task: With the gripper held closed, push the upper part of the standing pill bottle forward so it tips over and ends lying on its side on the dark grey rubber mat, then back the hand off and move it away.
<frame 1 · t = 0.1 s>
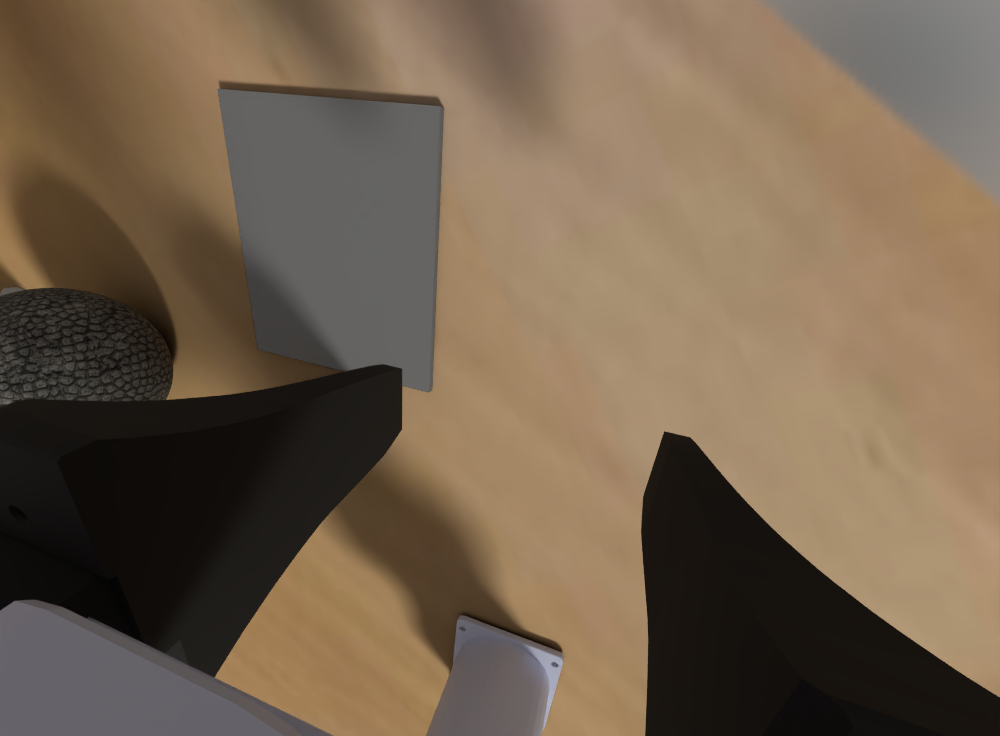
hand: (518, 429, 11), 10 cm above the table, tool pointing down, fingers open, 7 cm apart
mat: (335, 250, 22), on the table
decorative ball: (156, 343, 30), on the table
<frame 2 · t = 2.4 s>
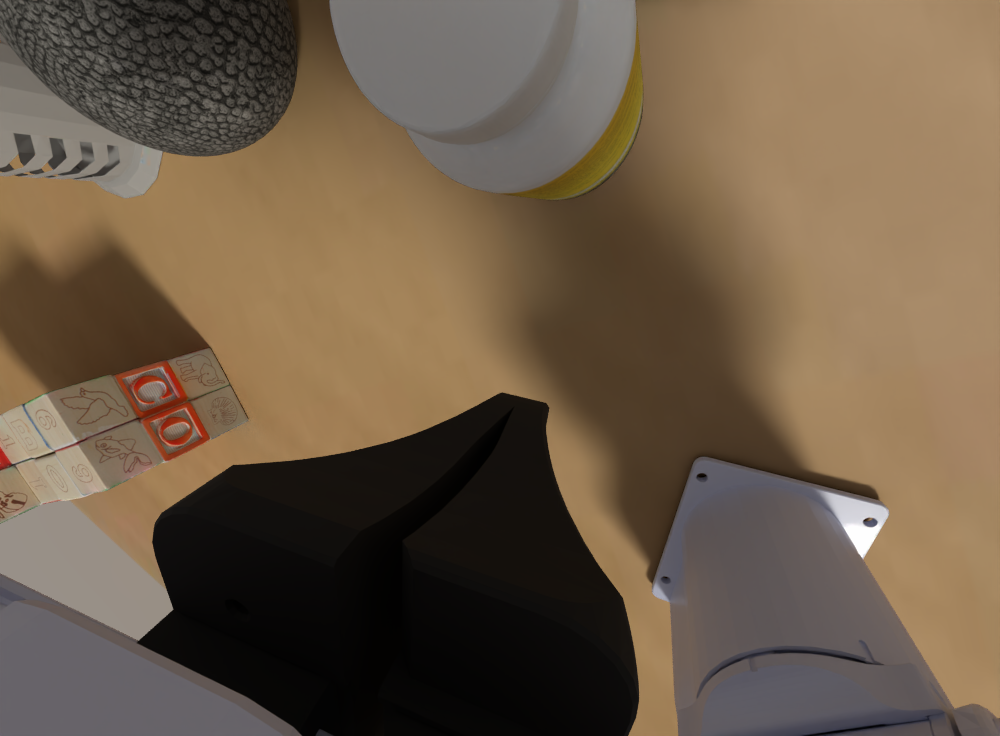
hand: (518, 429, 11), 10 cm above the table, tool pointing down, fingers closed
stack of blocks: (158, 407, 35), on the table
french press: (98, 114, 26), on the table
pill bottle: (564, 120, 18), on the table
decorative ball: (266, 59, 21), on the table
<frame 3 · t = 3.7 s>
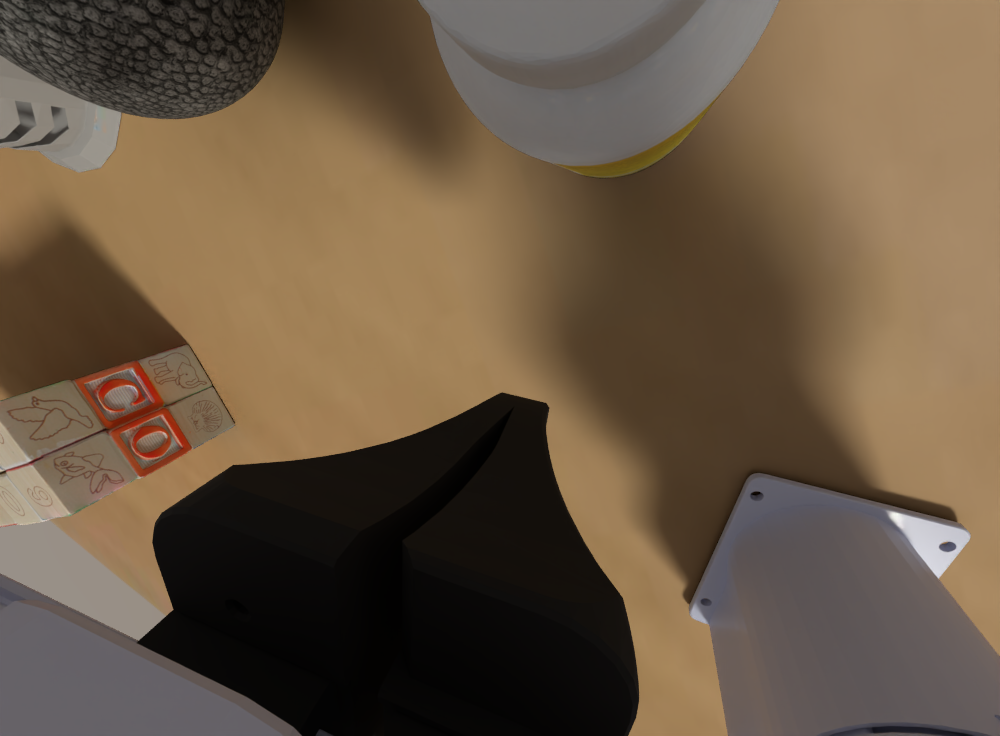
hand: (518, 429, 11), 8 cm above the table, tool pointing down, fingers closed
stack of blocks: (131, 410, 31), on the table
french press: (40, 69, 22), on the table
pill bottle: (615, 79, 15), on the table
decorative ball: (244, 1, 17), on the table
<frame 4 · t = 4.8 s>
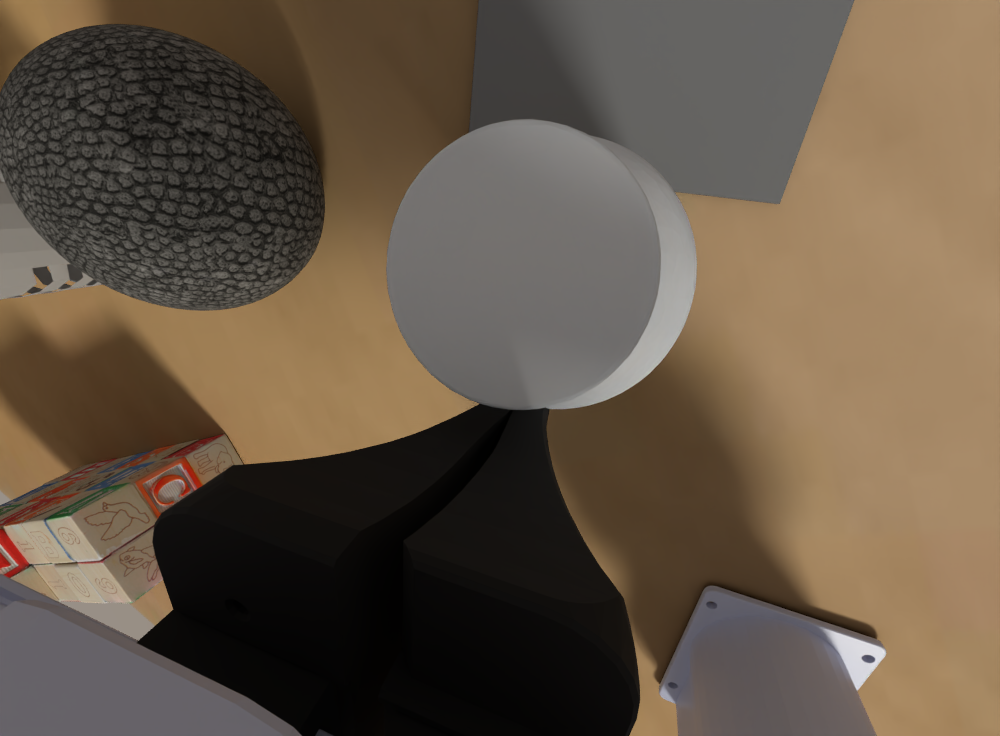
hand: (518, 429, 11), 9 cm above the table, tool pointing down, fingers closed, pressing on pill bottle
stack of blocks: (169, 479, 35), on the table
french press: (109, 213, 26), on the table
pill bottle: (587, 284, 18), on the table, touching gripper
decorative ball: (288, 189, 21), on the table
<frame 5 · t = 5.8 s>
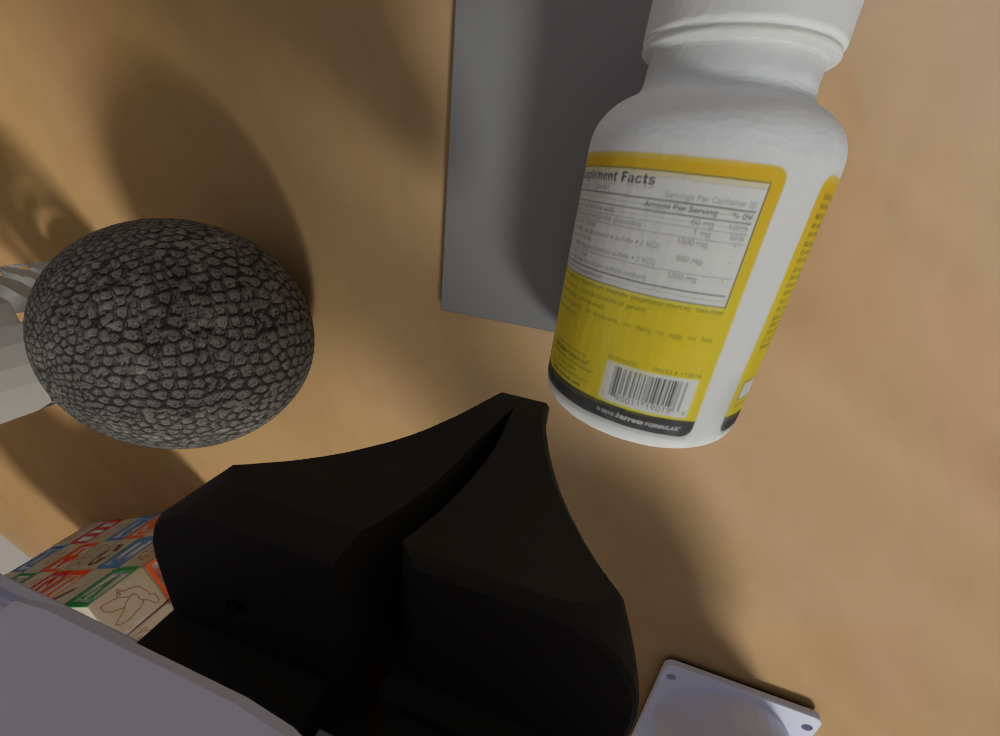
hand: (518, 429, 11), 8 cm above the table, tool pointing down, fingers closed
mat: (599, 157, 15), on the table
stack of blocks: (173, 539, 37), on the table
french press: (112, 313, 27), on the table
pill bottle: (629, 408, 15), point 4 cm above the table, touching mat
decorative ball: (281, 308, 23), on the table
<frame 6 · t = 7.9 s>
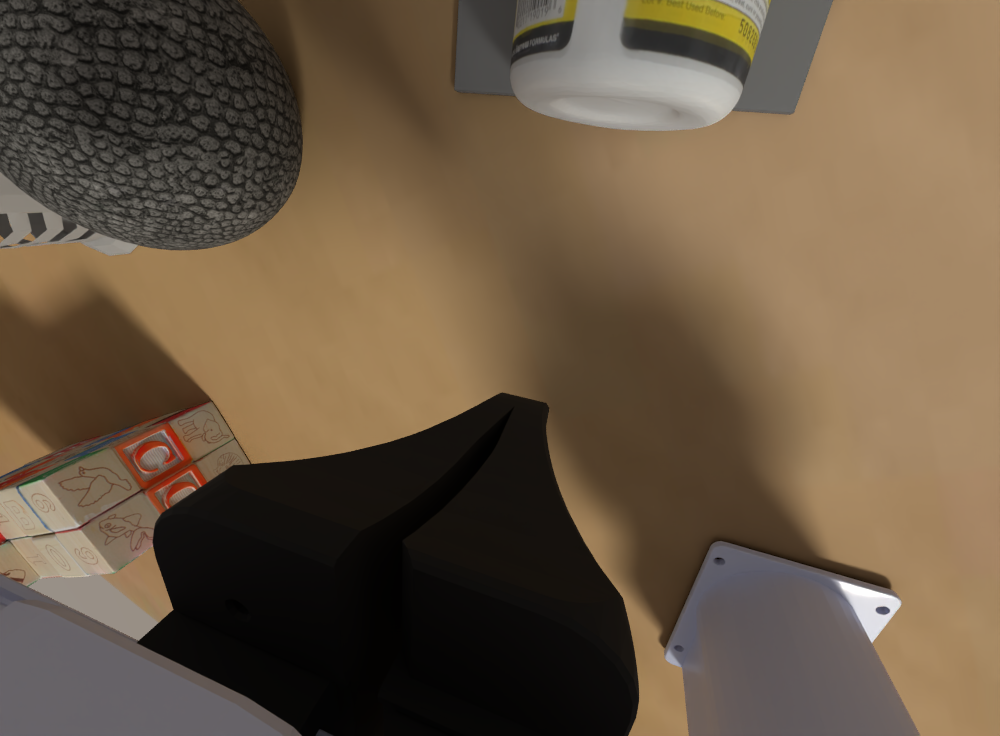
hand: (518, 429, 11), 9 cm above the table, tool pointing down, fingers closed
stack of blocks: (156, 456, 33), on the table
french press: (76, 168, 24), on the table
pill bottle: (611, 124, 12), point 4 cm above the table, touching mat
decorative ball: (265, 129, 20), on the table
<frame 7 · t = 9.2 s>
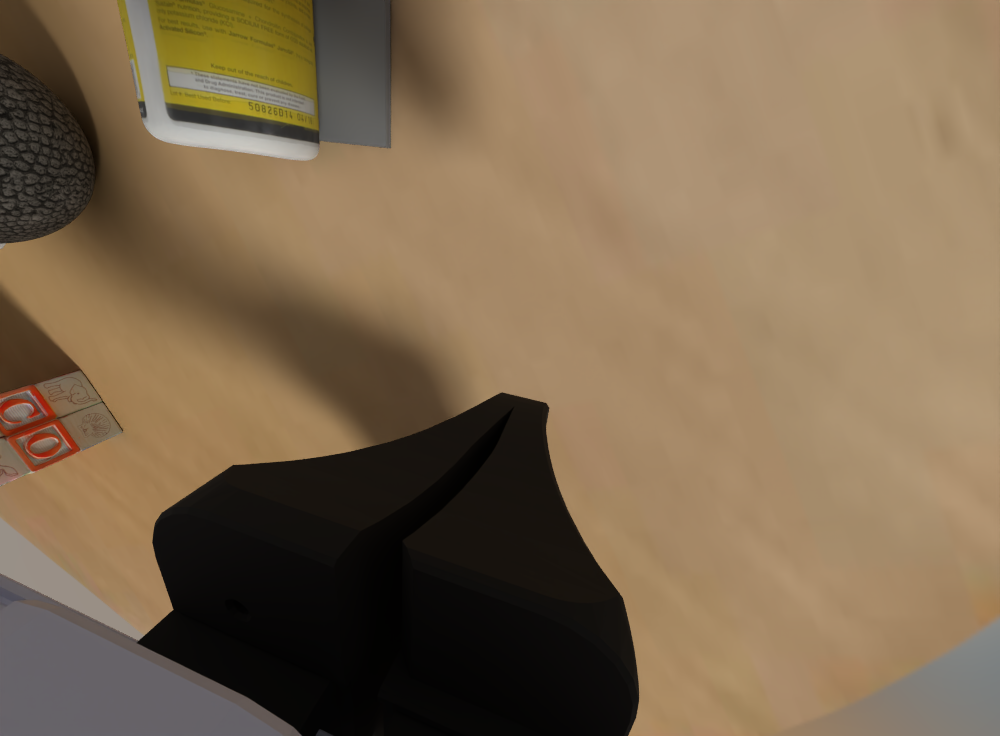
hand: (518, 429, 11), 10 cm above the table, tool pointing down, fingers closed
stack of blocks: (50, 421, 39), on the table
pill bottle: (241, 158, 18), point 4 cm above the table, touching mat
decorative ball: (79, 151, 26), on the table
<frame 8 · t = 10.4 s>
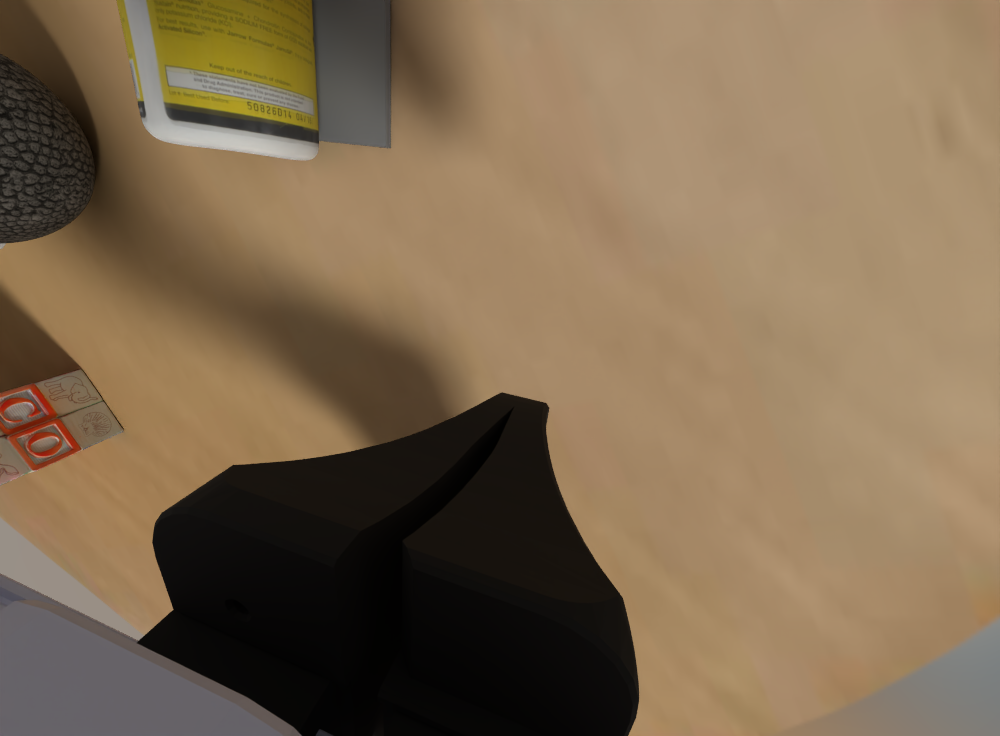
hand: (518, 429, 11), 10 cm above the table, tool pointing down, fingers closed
stack of blocks: (51, 421, 39), on the table
pill bottle: (240, 158, 18), point 4 cm above the table, touching mat
decorative ball: (79, 151, 26), on the table
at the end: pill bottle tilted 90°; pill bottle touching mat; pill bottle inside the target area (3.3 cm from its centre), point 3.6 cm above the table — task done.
